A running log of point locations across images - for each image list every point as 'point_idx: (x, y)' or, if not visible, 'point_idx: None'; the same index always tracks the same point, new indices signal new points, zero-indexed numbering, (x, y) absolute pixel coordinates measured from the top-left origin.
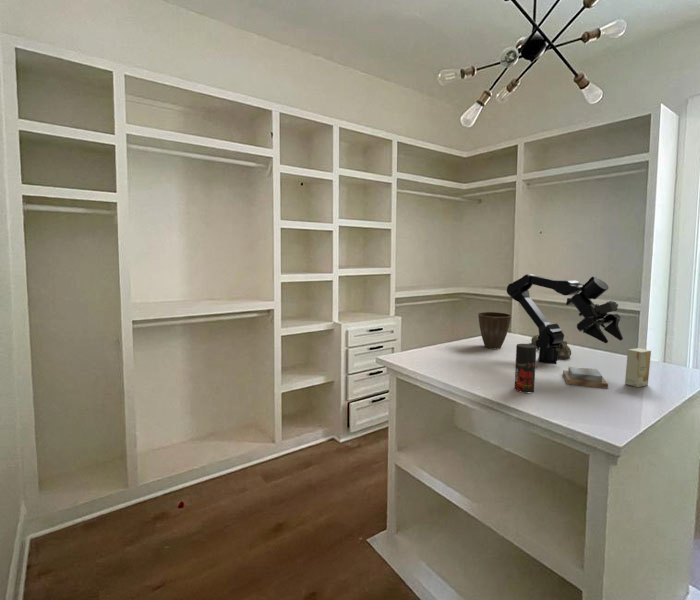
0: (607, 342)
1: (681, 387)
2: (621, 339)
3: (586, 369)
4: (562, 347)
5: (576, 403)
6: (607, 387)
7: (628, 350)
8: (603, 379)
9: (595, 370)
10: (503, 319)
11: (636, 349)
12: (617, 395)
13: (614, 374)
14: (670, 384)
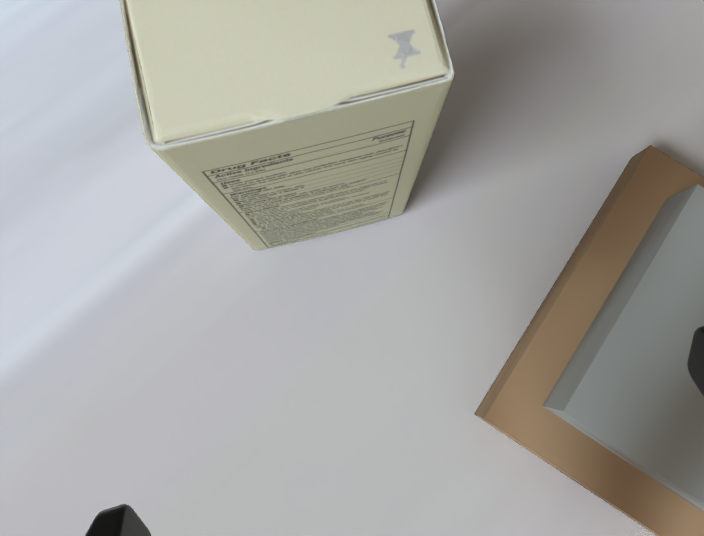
0: (693, 342)
1: (13, 48)
2: (136, 522)
3: (689, 423)
4: None
5: None
6: (636, 156)
7: (450, 72)
8: (597, 256)
9: (617, 370)
10: None
11: (303, 47)
12: (680, 13)
13: (246, 480)
14: (21, 126)
